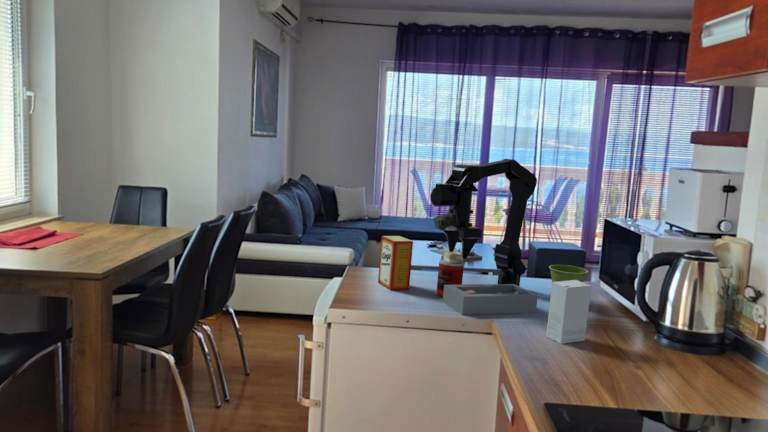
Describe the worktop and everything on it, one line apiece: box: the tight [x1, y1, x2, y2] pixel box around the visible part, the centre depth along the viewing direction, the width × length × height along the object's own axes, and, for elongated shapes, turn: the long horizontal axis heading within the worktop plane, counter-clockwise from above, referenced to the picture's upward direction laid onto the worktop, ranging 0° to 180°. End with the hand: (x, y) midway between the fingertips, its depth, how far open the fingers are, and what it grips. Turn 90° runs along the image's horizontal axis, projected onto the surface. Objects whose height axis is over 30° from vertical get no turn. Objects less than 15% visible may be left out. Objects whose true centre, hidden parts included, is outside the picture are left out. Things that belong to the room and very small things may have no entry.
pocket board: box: [442, 283, 539, 315], centre depth 180 cm, size 24×13×5 cm, turn 109°
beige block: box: [443, 251, 464, 263], centre depth 188 cm, size 5×4×3 cm
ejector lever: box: [463, 289, 521, 295], centre depth 180 cm, size 18×3×3 cm, turn 109°
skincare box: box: [545, 280, 593, 345], centre depth 154 cm, size 8×6×15 cm
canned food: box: [436, 258, 465, 299], centre depth 189 cm, size 8×8×11 cm
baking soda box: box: [377, 235, 414, 291], centre depth 195 cm, size 10×6×16 cm
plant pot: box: [548, 264, 589, 283], centre depth 191 cm, size 12×12×11 cm
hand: (457, 255), depth 190 cm, fingers open, 9 cm apart
